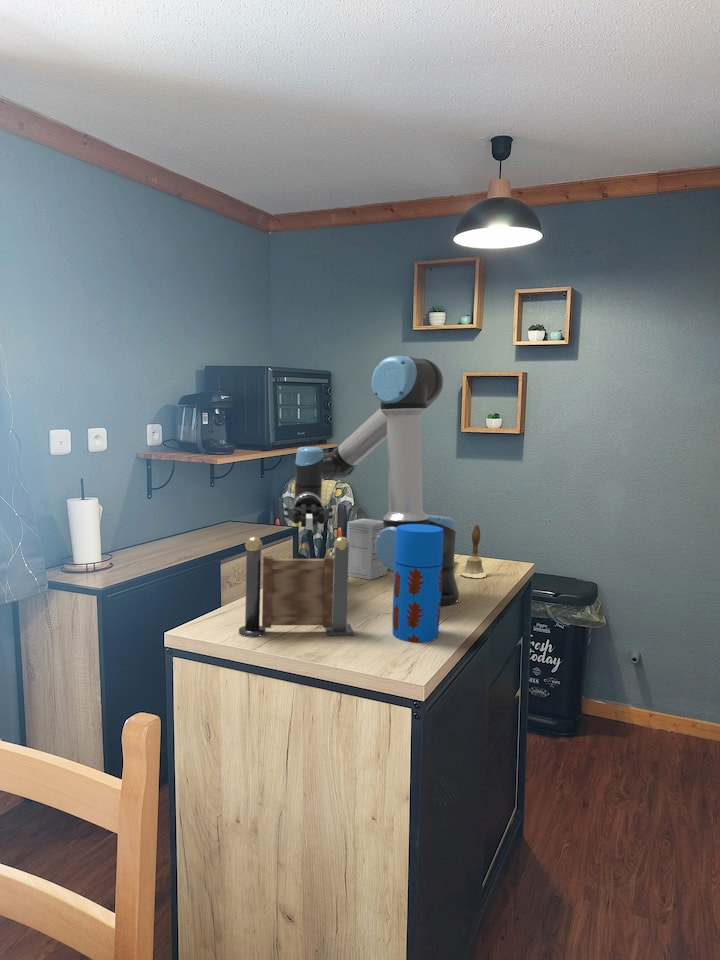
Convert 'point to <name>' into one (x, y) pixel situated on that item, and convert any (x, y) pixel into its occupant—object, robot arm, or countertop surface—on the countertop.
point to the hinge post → (252, 588)
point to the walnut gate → (297, 591)
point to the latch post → (340, 590)
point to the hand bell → (474, 555)
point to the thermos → (417, 582)
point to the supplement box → (364, 549)
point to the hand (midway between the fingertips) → (309, 524)
